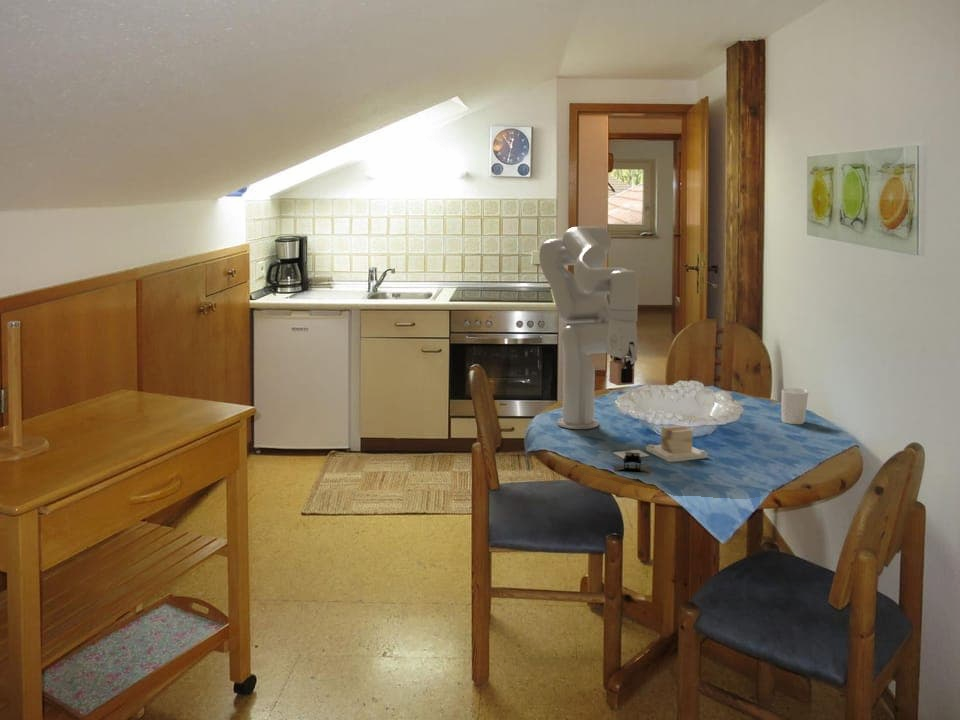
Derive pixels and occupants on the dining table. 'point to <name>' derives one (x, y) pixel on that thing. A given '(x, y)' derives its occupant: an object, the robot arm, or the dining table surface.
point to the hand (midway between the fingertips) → (621, 380)
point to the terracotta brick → (617, 373)
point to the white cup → (794, 405)
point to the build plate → (676, 454)
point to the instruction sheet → (623, 453)
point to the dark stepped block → (632, 468)
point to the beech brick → (676, 439)
